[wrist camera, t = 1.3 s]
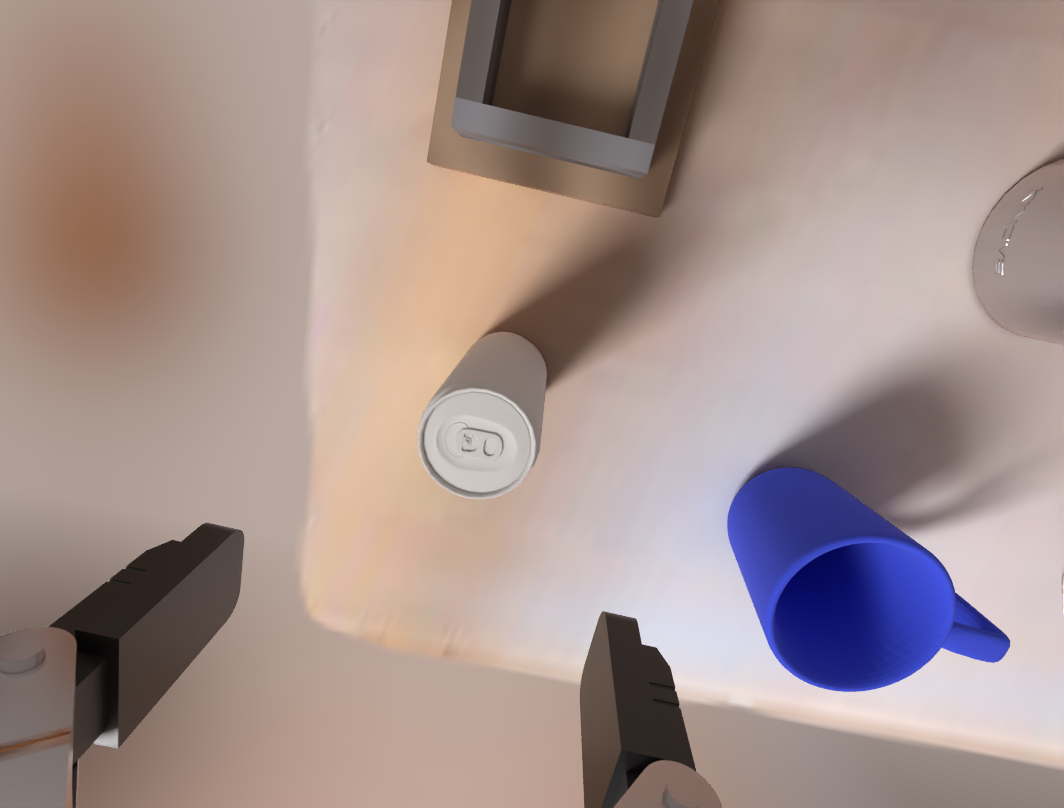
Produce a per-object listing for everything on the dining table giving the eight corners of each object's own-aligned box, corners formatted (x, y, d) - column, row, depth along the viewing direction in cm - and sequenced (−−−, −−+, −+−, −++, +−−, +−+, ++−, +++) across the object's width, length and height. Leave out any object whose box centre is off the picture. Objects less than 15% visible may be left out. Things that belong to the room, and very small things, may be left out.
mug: (868, 605, 37) (976, 737, 27) (690, 548, 36) (736, 664, 27) (934, 493, 34) (1078, 595, 25) (744, 431, 34) (816, 512, 24)
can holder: (727, -46, 27) (758, -98, 23) (655, 217, 31) (670, 215, 26) (476, -108, 27) (460, -171, 23) (433, 164, 30) (412, 154, 26)
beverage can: (471, 322, 33) (422, 372, 21) (555, 338, 33) (551, 398, 21) (458, 401, 34) (405, 489, 23) (538, 418, 34) (526, 513, 23)
